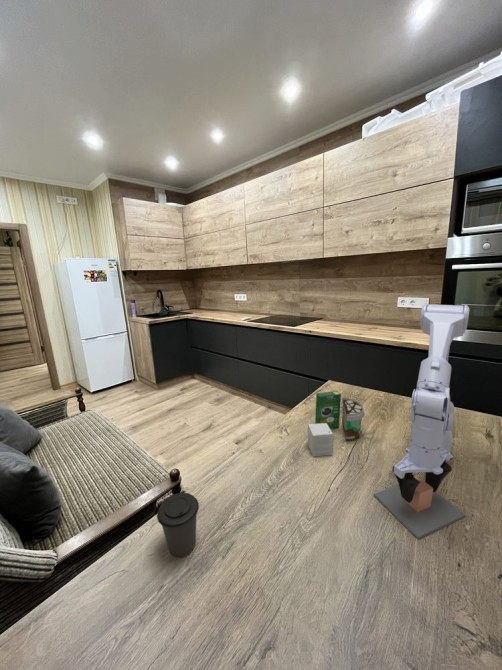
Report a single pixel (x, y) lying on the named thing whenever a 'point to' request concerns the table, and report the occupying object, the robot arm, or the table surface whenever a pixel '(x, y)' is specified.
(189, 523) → the coffee cup
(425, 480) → the robot arm
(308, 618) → the table surface
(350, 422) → the food container
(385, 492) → the mat
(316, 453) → the product box
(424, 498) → the block
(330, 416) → the coffee box
